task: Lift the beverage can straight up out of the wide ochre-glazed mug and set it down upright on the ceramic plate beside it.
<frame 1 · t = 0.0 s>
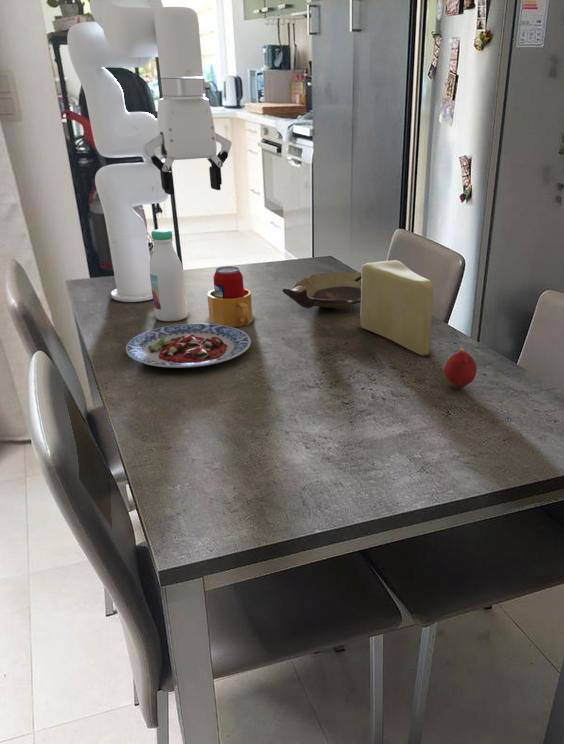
hand: (193, 191, 134), 31 cm above the table, tool pointing down, fingers open, 9 cm apart
beverage can: (231, 321, 165), resting in mug
onion: (458, 389, 131), on the table
mug: (231, 320, 165), on the table
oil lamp: (327, 305, 176), on the table
milk bottle: (172, 317, 168), on the table
cheese: (400, 340, 154), on the table
ceramic plate: (190, 353, 147), on the table
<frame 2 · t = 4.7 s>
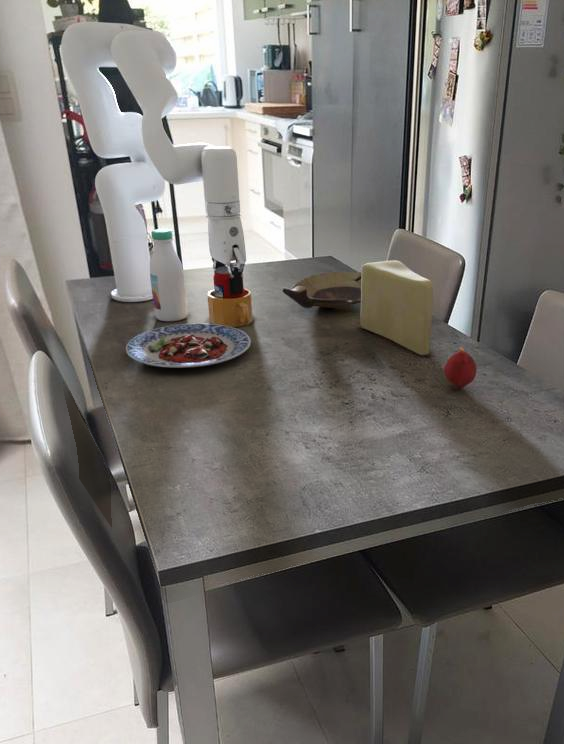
hand: (229, 289, 162), 7 cm above the table, tool pointing down, fingers closed on beverage can, 6 cm apart
beverage can: (231, 321, 165), resting in mug, touching gripper
everything else where it was.
when the fingers open (10 cm above the table, at t = 13.3 s): beverage can stays where it is, resting on ceramic plate.
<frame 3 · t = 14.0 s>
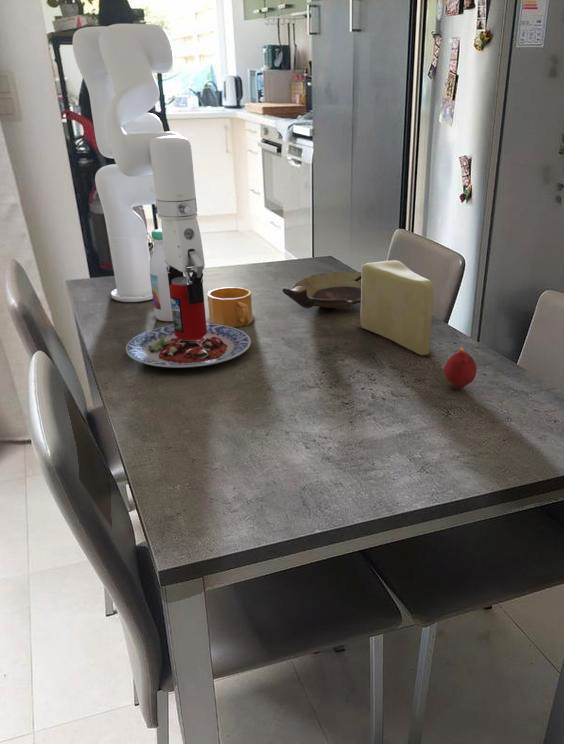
hand: (186, 297, 142), 12 cm above the table, tool pointing down, fingers open, 9 cm apart
beverage can: (191, 338, 146), point 3 cm above the table, touching ceramic plate
ceramic plate: (190, 353, 147), on the table, touching beverage can
everything else where it was.
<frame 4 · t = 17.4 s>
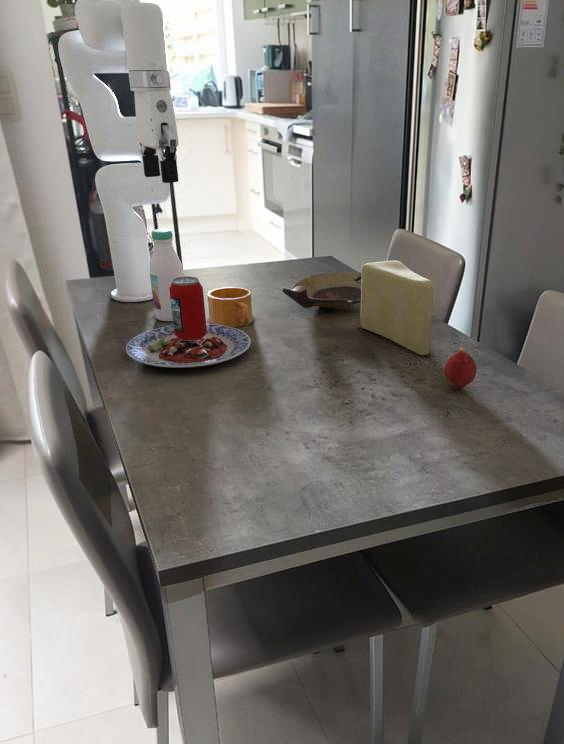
hand: (161, 179, 141), 32 cm above the table, tool pointing down, fingers open, 9 cm apart
nothing on the table moved.
at the end: beverage can inside the target area on the ceramic plate (1.4 cm from its centre), point 3.0 cm above the ceramic plate's base; beverage can tilted 0°; beverage can moved 21.4 cm from its start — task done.
